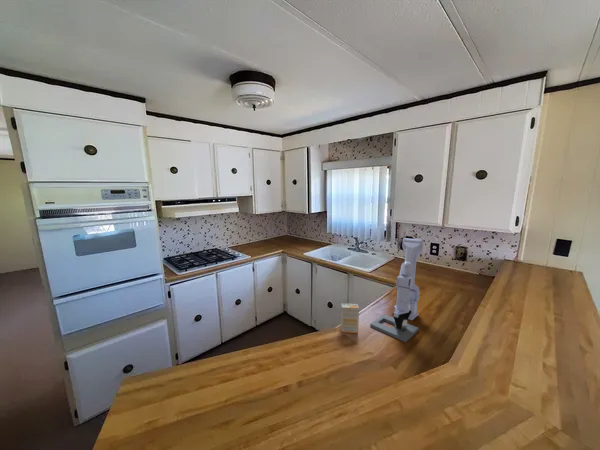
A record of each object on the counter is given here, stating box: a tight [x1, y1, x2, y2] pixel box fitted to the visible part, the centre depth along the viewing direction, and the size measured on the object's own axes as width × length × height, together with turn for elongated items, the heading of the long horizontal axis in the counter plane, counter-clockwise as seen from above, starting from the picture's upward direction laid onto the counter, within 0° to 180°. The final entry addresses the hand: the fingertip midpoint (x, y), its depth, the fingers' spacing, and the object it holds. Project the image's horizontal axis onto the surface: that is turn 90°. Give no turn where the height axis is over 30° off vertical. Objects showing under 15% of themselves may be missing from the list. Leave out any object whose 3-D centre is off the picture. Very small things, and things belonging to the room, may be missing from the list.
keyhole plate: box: [369, 314, 419, 343], centre depth 118 cm, size 15×18×2 cm
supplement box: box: [340, 303, 360, 335], centre depth 114 cm, size 8×5×13 cm, turn 84°
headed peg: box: [394, 318, 408, 332], centre depth 115 cm, size 5×5×6 cm
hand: (401, 326), depth 115 cm, fingers closed on headed peg, 5 cm apart
